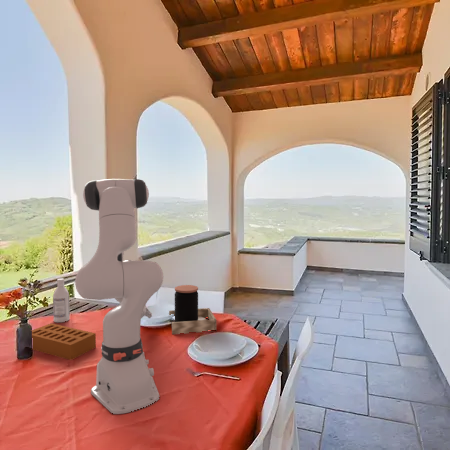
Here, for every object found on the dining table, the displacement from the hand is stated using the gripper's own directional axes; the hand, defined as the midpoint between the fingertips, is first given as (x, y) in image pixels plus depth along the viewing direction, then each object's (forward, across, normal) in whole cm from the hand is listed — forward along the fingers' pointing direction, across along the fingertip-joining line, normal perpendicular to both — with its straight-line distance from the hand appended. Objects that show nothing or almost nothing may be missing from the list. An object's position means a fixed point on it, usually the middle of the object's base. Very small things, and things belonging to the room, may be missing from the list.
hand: (150, 316), depth 153 cm
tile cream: (+20, +4, -12) cm, 24 cm away
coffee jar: (+15, 0, -7) cm, 17 cm away
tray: (+17, 0, -9) cm, 19 cm away
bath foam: (-25, +20, +33) cm, 46 cm away
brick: (-20, -12, +29) cm, 37 cm away
